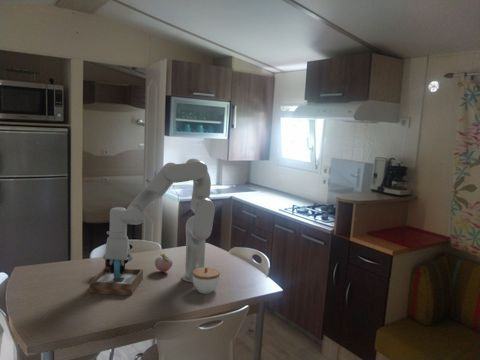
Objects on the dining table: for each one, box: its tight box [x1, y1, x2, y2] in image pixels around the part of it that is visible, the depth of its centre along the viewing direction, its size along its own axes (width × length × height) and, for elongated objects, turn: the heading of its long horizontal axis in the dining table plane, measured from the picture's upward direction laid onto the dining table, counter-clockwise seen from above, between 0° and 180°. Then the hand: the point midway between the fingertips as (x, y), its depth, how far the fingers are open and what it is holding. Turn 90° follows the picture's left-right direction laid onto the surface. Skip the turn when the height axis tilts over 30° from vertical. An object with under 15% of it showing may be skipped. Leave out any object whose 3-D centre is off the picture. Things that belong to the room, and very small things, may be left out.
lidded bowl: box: [192, 266, 220, 295], centre depth 180 cm, size 13×13×11 cm
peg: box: [113, 260, 122, 278], centre depth 180 cm, size 4×4×10 cm
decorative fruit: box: [154, 253, 173, 273], centre depth 200 cm, size 9×8×10 cm
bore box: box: [89, 266, 144, 296], centre depth 181 cm, size 19×19×5 cm
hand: (117, 272), depth 180 cm, fingers closed on peg, 3 cm apart
